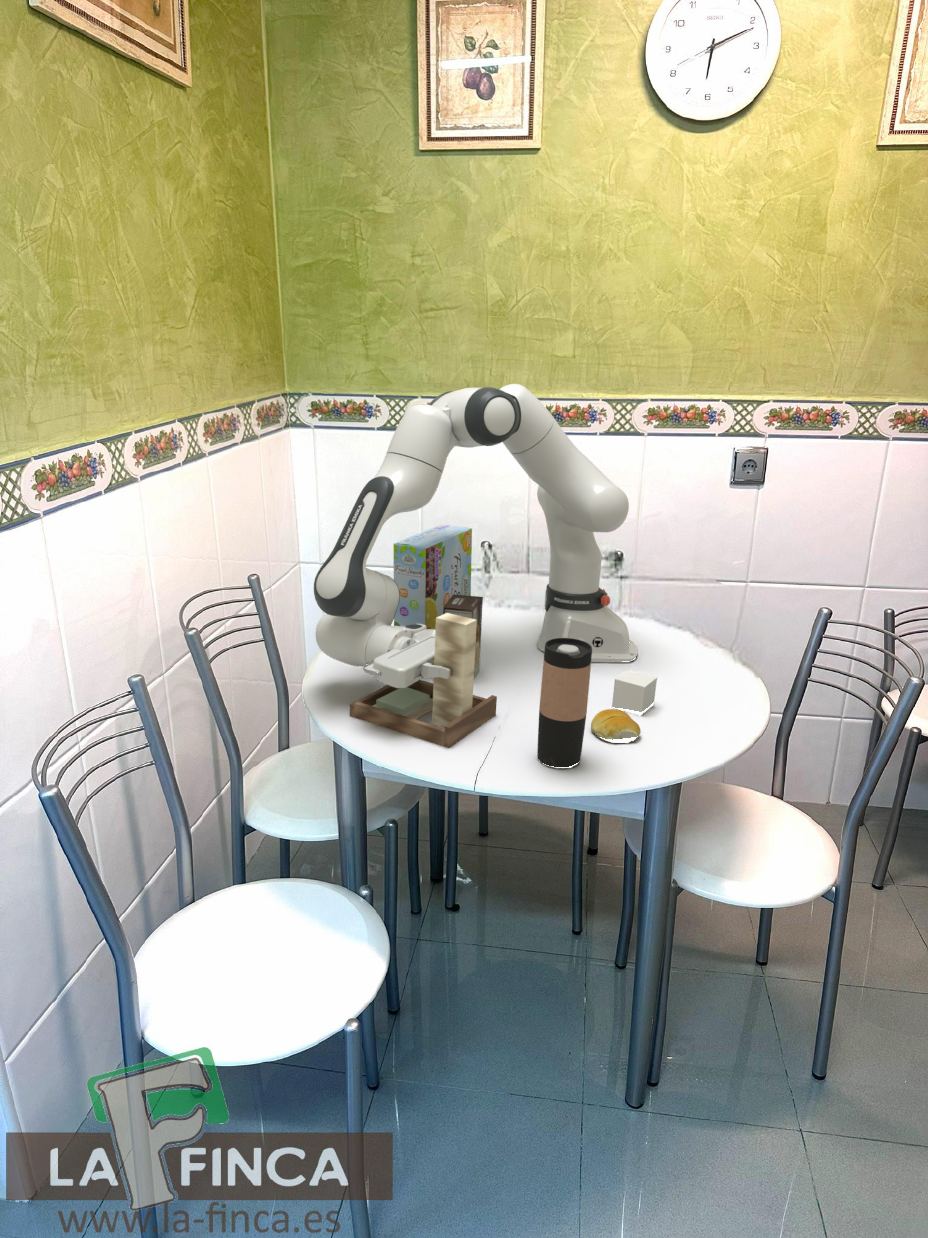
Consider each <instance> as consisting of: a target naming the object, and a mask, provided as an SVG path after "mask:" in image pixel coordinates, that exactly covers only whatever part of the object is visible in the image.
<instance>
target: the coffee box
mask: <svg viewBox="0 0 928 1238" xmlns="http://www.w3.org/2000/svg"><path fill="white" fill-rule="evenodd" d="M483 601H484V597H483V596H479V595H478V596H474V595H471V596H467V595H455V594H454V595H452V597H451V598H450V599H449V601H448V602H447V603H446V604H445V606H444V607H443V614H445V613H450V614H454V615H458V616H463V617H467V618H471V619H476V620H477V625H476V644H475V663H474V680H475V679H476V677H477V675H478V673H479V671H480V665H481V664H480V663H481V662H480V661H481V660H480V659H481V643H482V642H481V641H482V640H481V639H482V620H483Z"/></svg>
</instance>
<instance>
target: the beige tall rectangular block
mask: <svg viewBox="0 0 928 1238" xmlns="http://www.w3.org/2000/svg"><path fill="white" fill-rule="evenodd" d="M476 625H477V620H476V619H471V618H467V617H463V616H458V615H454V614H450V613H445V614H443V615H441V616H439V617H437V618H436V630H435V657H434V665H436V666H443V665H446V666H450V667H452V668H453V672H452V673H453V675H452V676H451V677H449V678H448V679H445V678H441V677H433V684H434V685H433V709H432V712H431V713H432V714H431V715H432V719H431V725H435V726H438V727H441V728H445V726H446V725H448V724H449V723H451V722H452V721H454V720H455V719H457V718H458V717H460V716H461V715H463V714H464V713H466V712H467V711H469V710H470V709H472V701H473V695H474V682H475V681H474V680H475V679H474V663H475V644H476Z"/></svg>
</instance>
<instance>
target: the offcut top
mask: <svg viewBox="0 0 928 1238" xmlns="http://www.w3.org/2000/svg"><path fill="white" fill-rule="evenodd" d="M429 696H430V695H428V694H425V693H422V692H420V691H417V690H414V689H411V688H408V687H406V688H399V689H397V690H395V691H393V692H391V693H389V694H387V695H385V696H383V697H381V698H379V699H377V700H376V706H378V707H381V708H384V709H386V710H389V711H392V712H395V713H398V714H400V715H403V714H405V713H407V712H409V711H411V710H413V709H415V708H417V707H419V706H420V705H422V704H424V703H426V702H428V701H429Z"/></svg>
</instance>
